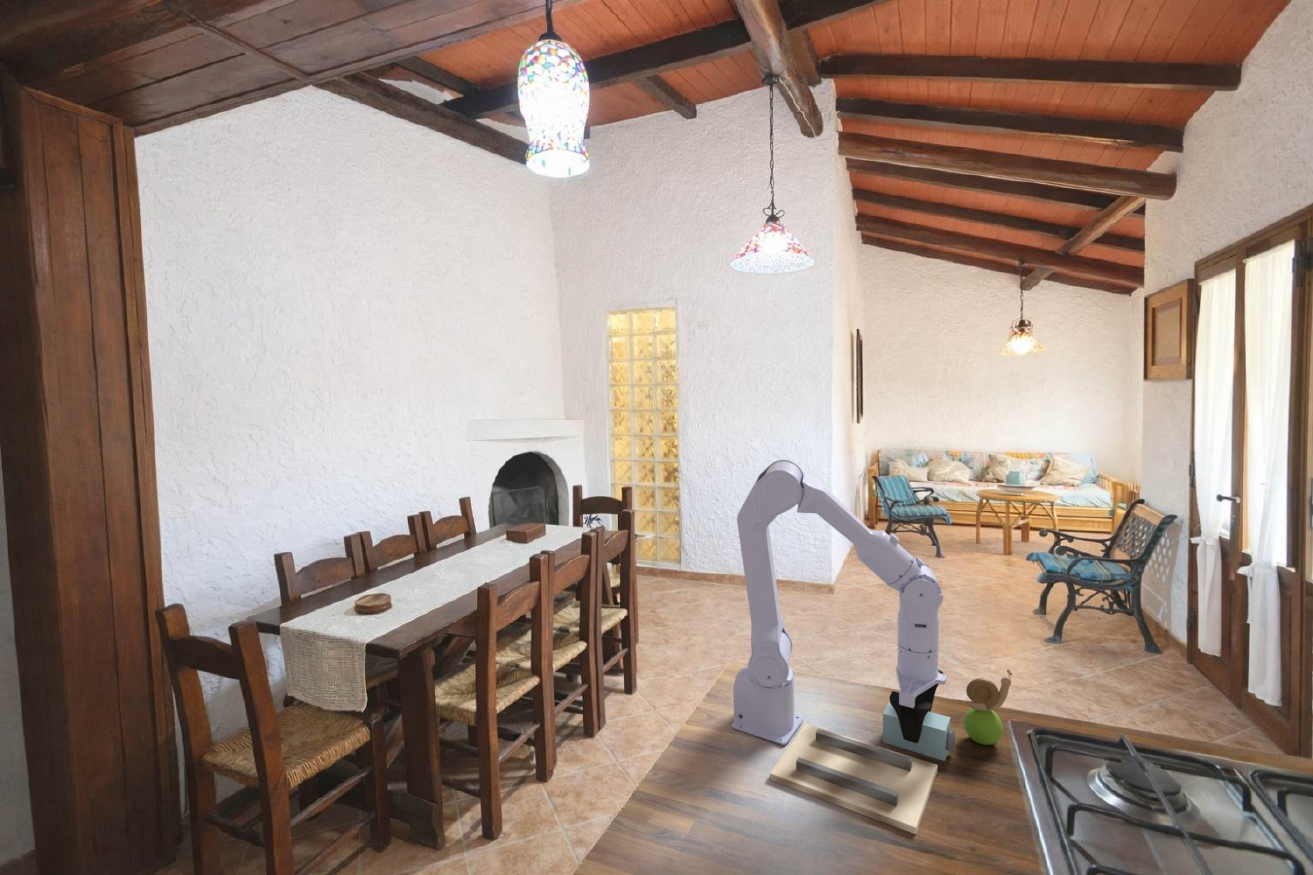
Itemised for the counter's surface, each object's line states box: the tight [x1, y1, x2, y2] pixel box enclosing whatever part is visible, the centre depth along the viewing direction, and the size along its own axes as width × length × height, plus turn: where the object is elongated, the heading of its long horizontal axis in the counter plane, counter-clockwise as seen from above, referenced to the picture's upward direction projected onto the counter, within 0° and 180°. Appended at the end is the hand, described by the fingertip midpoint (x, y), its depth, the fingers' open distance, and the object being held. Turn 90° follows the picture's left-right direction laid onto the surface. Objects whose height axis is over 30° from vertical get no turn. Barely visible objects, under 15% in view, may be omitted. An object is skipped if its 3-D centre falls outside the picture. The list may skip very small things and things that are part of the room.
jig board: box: [769, 723, 939, 835], centre depth 91 cm, size 20×14×2 cm
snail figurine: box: [963, 669, 1013, 746], centre depth 96 cm, size 5×6×12 cm
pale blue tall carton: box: [882, 700, 956, 762], centre depth 97 cm, size 10×4×5 cm, turn 56°
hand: (916, 726), depth 97 cm, fingers open, 7 cm apart
